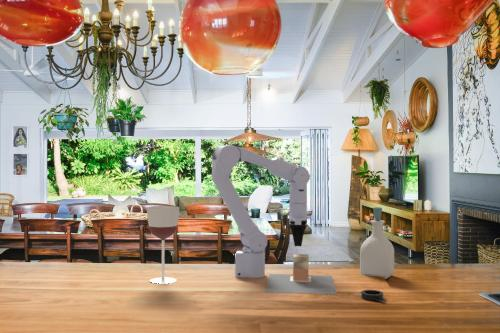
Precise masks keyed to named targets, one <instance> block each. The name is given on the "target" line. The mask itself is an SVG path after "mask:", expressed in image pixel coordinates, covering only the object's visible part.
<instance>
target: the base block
mask: <svg viewBox="0 0 500 333" xmlns="http://www.w3.org/2000/svg"><path fill="white" fill-rule="evenodd" d="M292 270H293V271H292V275H293V280H294V281H308V275H309V269H293V268H292Z"/></svg>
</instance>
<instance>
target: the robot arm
mask: <svg viewBox="0 0 500 333" xmlns="http://www.w3.org/2000/svg"><path fill="white" fill-rule="evenodd" d="M243 162H248V163H250V164H253V165H257V166H259V167H262V168H265V169H267V170H268V173H269V174H270V175H272V176H275V177H277V178H280V179H282V180H285V181H288V182H289V189H288V190H289V203H288V204H289V212H288V214H289V215H288V219H289V225H288V226H289V228H290V230H291V234H292V238H293V244H294V247H302V245H303V238H304V234H305V231H306V229H307V227H308V225H307V220H308V219H311V216H310V215H308V204H307V203H308V188H307V187H308V186H307V185H308V182H309V181H310V179H311V174H310V172H309V170H307V168H306V167H304V166H298V165H297V163H295V162H290V161H287V160H284V157H283V156H282V157H281V156H278V157H273V158H269V157H267V156H263V155H262V154H259V153H257V152H256V151H255V152H254V151H252V150H249V149H247V148H244V147H241V146H235V144H234V145H233V144H227V145H223V144H221V145H219V146H217V147H216V148H215V150H214V152H213V154H212V157H211V180H212V182H213V184H214V186H215V187H216V189H217V191H218V193H219V196H221V198H222V200H223V202H224V203H225V205H226V207H227V209H228V212H229V213H230V214H231V216H232V218H233V221H234V222H235V224H236V226H237V231H238V232H239V235H240V242H241V244H242V245H243V247H242V250H236V252H235V260H234V261H235V267H234V268H235V269H234V274H235V275H234V276H235V277H236V278H252V279H256V278H257V279H258V278H262V277H265V274H266V273H265V272H266V271H265V270H266V268H265V267H266V266H265V265H266V260H265V259H266V247H267V246H268V237H267V236H266V234H265V233H263V231H261V230H260V229H259V226H258V225H257V224H256V223H255V222H254V220H253V218H252V217H251V216H250V214H249V212H248V210H247V208H246V206H245V205H244V203H243V201H242V199H241V197H240V195H239V194H238V192H237V190H236V188H235V186H234V184H233V182H232V180H231V179H230V177H231V174H232V170H233V168H234V167H235V166H236V165H237V164H238V163H243Z"/></svg>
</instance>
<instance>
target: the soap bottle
mask: <svg viewBox="0 0 500 333" xmlns="http://www.w3.org/2000/svg"><path fill="white" fill-rule="evenodd" d="M372 209H373V219H371V220H370V221H369V223H371V225H372V228H371V230H372V231H371V234H370V236H368V237H367V238H365V240H364V241H362V244H361V246H360V250H359V273H360V275H361V276H373V277H382V278H383V279H384V280H387V279H389V278H390V277H392V275H393V274H394V272H395V247H394V245H393V244H392V242H391V241H390V240H389V239H388V238H387V237H386V236H385V235H384V232H383V227H384V226H383V225H384V224H385V222H386V221H385V220H381V219H382V213H383V208H382V207H380V206H379V207H378V206H375V207H373V208H372Z"/></svg>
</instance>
